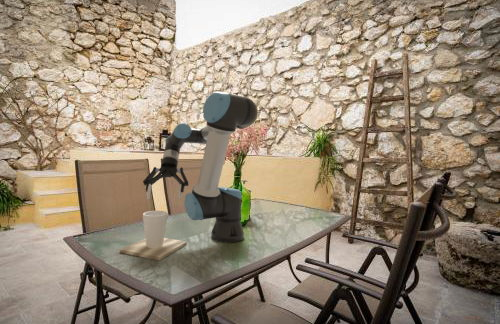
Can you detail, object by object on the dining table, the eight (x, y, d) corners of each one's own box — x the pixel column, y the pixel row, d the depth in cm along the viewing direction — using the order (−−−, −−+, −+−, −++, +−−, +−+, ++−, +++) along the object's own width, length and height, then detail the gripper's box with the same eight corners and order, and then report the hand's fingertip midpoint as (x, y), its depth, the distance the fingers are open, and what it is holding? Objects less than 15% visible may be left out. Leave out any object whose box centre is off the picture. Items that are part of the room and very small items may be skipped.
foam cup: (158, 250, 102) (159, 217, 102) (137, 247, 104) (138, 214, 103) (171, 242, 111) (172, 211, 111) (151, 240, 113) (151, 209, 113)
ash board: (186, 244, 113) (186, 241, 113) (159, 260, 96) (159, 257, 96) (151, 238, 119) (151, 235, 119) (119, 252, 102) (119, 249, 102)
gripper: (196, 166, 137) (192, 202, 123) (145, 165, 134) (136, 201, 121) (195, 156, 131) (191, 193, 117) (142, 155, 128) (132, 192, 115)
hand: (163, 197), depth 119 cm, fingers open, 13 cm apart
